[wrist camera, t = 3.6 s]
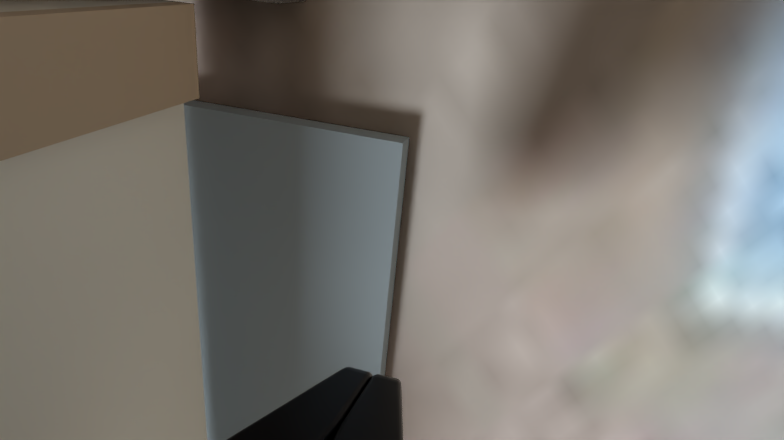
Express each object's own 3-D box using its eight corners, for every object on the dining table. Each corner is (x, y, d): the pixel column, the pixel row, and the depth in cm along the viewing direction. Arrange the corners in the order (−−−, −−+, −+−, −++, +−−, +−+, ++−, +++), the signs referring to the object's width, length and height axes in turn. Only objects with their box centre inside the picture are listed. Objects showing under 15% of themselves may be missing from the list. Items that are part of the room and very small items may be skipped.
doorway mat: (369, 527, 14) (363, 542, 14) (43, 414, 16) (31, 423, 16) (409, 137, 10) (402, 143, 9) (-39, 60, 12) (-58, 62, 12)
